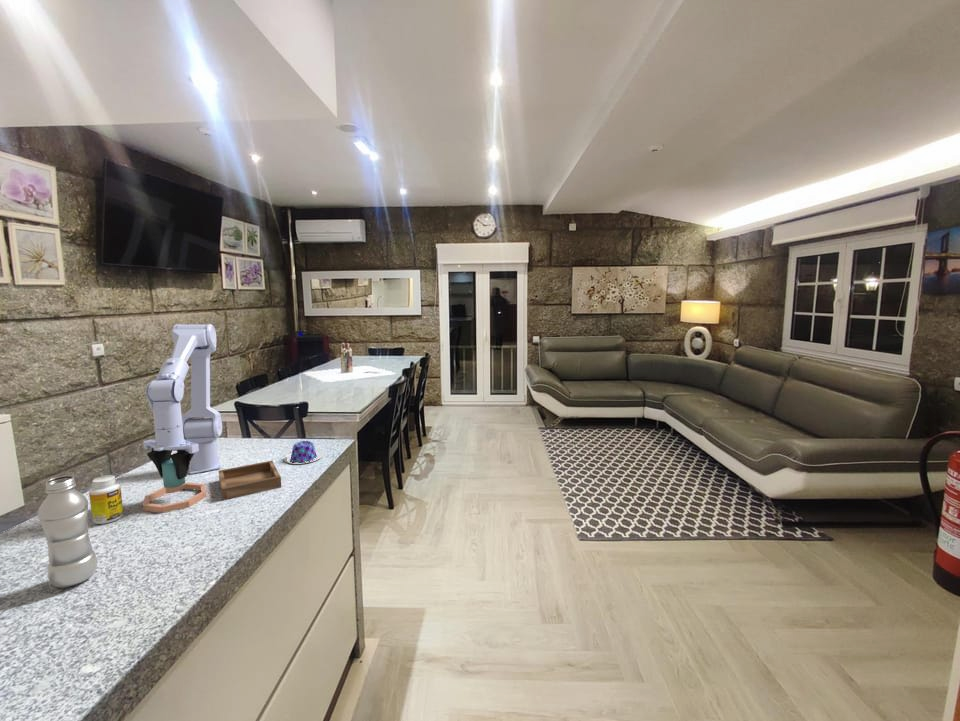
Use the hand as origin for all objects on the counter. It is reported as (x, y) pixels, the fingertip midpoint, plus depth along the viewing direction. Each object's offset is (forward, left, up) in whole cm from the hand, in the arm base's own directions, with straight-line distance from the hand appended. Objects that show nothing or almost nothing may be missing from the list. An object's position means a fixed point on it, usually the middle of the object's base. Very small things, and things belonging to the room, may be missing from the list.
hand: (174, 476), depth 109 cm
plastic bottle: (+28, -15, -6) cm, 32 cm away
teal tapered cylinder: (0, 0, -2) cm, 2 cm away
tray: (0, +17, -6) cm, 18 cm away
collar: (0, 0, -6) cm, 6 cm away
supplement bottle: (+3, -13, -6) cm, 15 cm away
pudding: (-12, +34, -7) cm, 37 cm away
